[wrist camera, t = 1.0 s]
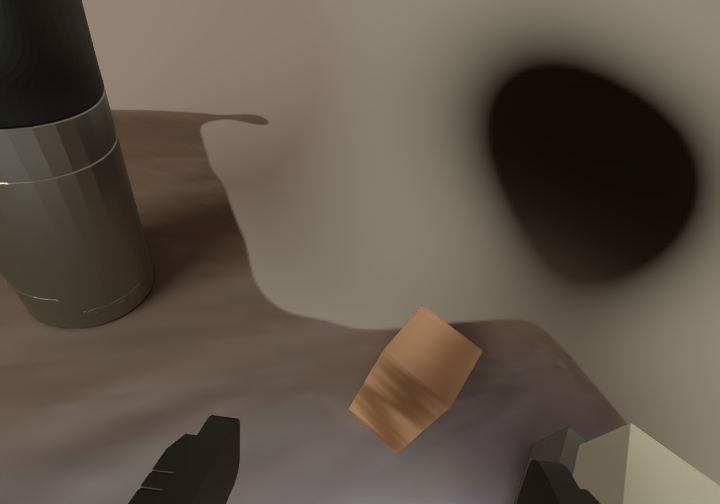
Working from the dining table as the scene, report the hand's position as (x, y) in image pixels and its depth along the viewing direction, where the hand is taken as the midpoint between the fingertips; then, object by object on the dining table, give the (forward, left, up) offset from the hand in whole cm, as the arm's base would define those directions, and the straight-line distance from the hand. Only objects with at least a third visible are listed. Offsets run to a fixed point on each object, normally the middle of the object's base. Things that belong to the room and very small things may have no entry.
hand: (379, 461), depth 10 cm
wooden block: (0, +11, -18) cm, 21 cm away
